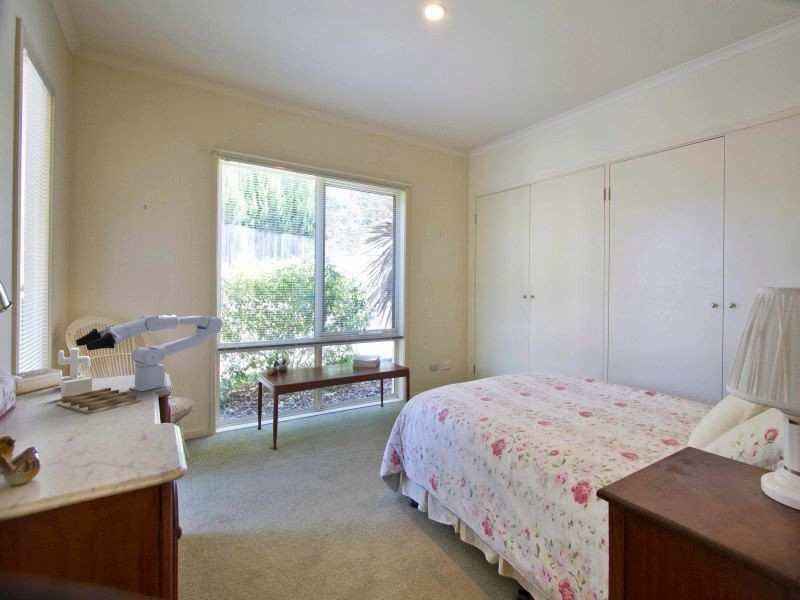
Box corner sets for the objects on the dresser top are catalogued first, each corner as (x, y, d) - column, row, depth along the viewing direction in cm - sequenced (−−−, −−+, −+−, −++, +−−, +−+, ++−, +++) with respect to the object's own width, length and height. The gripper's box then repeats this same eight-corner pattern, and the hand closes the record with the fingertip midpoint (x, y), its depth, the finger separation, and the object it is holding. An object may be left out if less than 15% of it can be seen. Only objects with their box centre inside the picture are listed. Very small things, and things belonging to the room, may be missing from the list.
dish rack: (110, 393, 141) (110, 386, 141) (141, 401, 134) (141, 393, 134) (57, 404, 127) (57, 396, 127) (87, 414, 119) (87, 405, 119)
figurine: (89, 387, 148) (90, 348, 148) (57, 390, 143) (57, 350, 142) (89, 383, 154) (90, 345, 154) (58, 386, 148) (58, 347, 148)
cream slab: (87, 393, 141) (88, 377, 140) (91, 394, 140) (92, 378, 139) (61, 398, 133) (61, 381, 133) (64, 400, 132) (65, 382, 132)
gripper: (112, 318, 145) (68, 331, 134) (132, 324, 138) (88, 338, 127) (116, 335, 147) (74, 349, 136) (137, 342, 141) (94, 357, 129)
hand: (81, 345), depth 132 cm, fingers open, 7 cm apart
